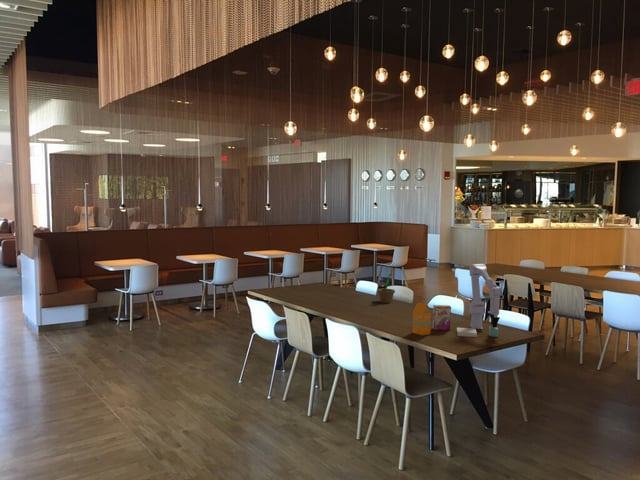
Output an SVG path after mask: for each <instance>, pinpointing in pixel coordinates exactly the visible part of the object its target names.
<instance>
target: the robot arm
mask: <svg viewBox="0 0 640 480" xmlns="http://www.w3.org/2000/svg"><path fill="white" fill-rule="evenodd" d="M468 269H469V270H468V271H469V276H470V279H471V281H470V282H471V292H472V301H471V302H469V304H468V305H469V307H468V312H469V314H470V315H471V319H470V321H471V323H470V324H469V326H470V328H472V329H476V330H483V329H484V328H483V327H484V326H483V316H484V315H485V314H486V306H485V302H484V301H482V299H481V297H482V296H481V286H480V277H482V278H483V280H484V281H485V282H484V284H485V286H486V287H487V290H488V294H489V299H490V300H489V302H490V303H489V304H490V306H489V311H487V313H488V314H489V318H490V323H491V325H492V327H494V328H496V327H497V328H498V323H499V320H500V318H501V317H499V315H500V304H501V303H500V299H501V296H502V293H503V289H502V287H501V286H498V285H497V284H496V282H495V280H494V278H490V275H489V274H488V272H487V271H488V269H487V266H486V264H485V263H479V264H478V263H476V264H475V263H472V264H470V266H469V268H468Z"/></svg>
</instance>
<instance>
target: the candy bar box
mask: <svg viewBox="0 0 640 480" xmlns="http://www.w3.org/2000/svg"><path fill="white" fill-rule="evenodd" d="M432 309H433V310H432V323H431V326H432V327H431V329H433V331H451V319H452V318H451V316H452V315H451V314H452V312H451V311H452V305H448V304H445V305H444V304H433V305H432Z"/></svg>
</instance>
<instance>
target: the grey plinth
mask: <svg viewBox="0 0 640 480" xmlns="http://www.w3.org/2000/svg"><path fill="white" fill-rule="evenodd" d="M456 335H457V336H458V337H468V338H469V337H470V338H477V337H478V332H477V329H473V328H471V327H470V328H469V327H467V328H466V327H456Z"/></svg>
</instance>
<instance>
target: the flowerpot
mask: <svg viewBox="0 0 640 480" xmlns="http://www.w3.org/2000/svg"><path fill="white" fill-rule="evenodd" d="M389 278H390V280H389ZM390 281H391V282H392V281H393V268H392V267H391V270H390V274H388V277H387V279H386V283H385V288H379V289H377V292H378V294H379V302H380V303H383V304H390V303H391V302H392V303H393V299H394V294H395V293H396V289H391V288H388V284H389V283H390Z"/></svg>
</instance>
